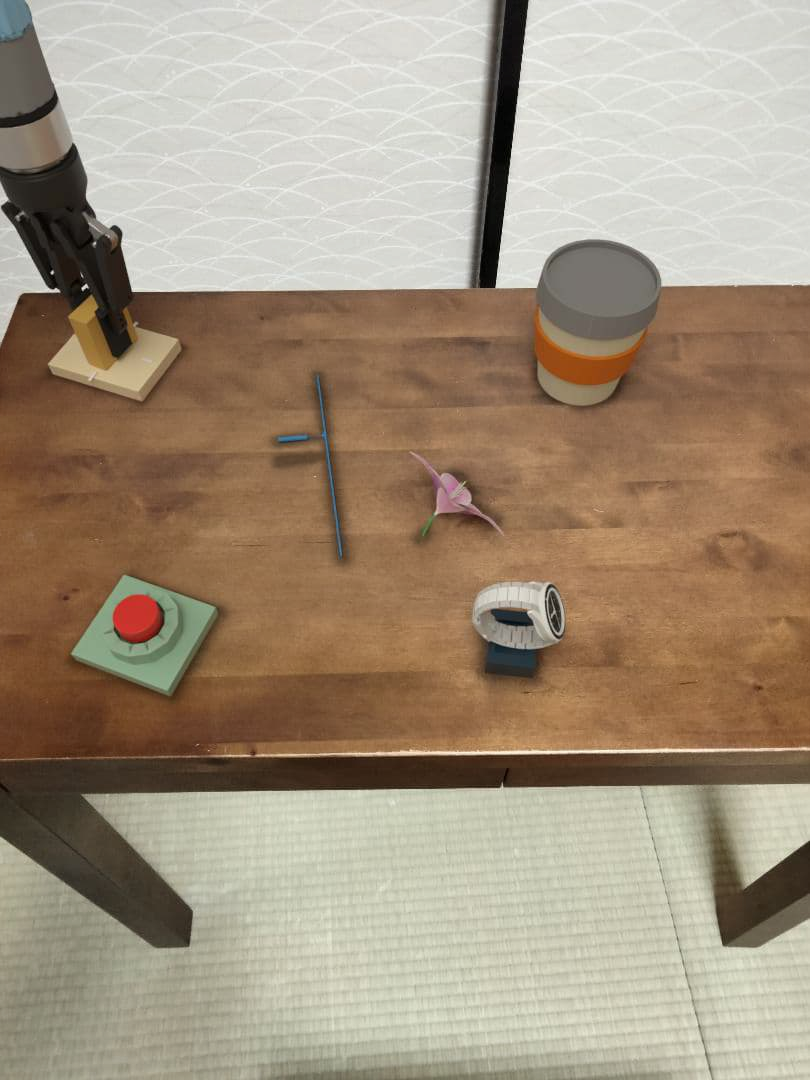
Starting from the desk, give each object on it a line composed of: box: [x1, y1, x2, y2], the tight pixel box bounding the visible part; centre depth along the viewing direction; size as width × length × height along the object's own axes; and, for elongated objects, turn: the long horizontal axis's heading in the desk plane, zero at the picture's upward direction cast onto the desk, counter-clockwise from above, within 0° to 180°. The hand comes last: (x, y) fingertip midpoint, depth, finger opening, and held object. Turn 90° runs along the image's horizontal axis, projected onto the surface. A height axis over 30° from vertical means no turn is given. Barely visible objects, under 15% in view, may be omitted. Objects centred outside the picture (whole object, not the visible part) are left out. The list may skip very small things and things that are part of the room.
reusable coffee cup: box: [533, 238, 662, 406], centre depth 89 cm, size 13×12×15 cm
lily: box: [409, 451, 506, 538], centre depth 81 cm, size 12×12×10 cm
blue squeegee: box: [277, 374, 343, 558], centre depth 88 cm, size 1×25×5 cm
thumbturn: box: [67, 294, 138, 371], centre depth 91 cm, size 6×2×7 cm, turn 153°
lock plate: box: [47, 321, 183, 402], centre depth 95 cm, size 12×10×3 cm
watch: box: [471, 580, 566, 679], centre depth 72 cm, size 6×8×11 cm
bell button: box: [112, 594, 163, 642], centre depth 73 cm, size 4×4×2 cm
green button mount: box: [70, 574, 219, 697], centre depth 75 cm, size 10×9×4 cm
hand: (111, 345), depth 94 cm, fingers closed on thumbturn, 2 cm apart
